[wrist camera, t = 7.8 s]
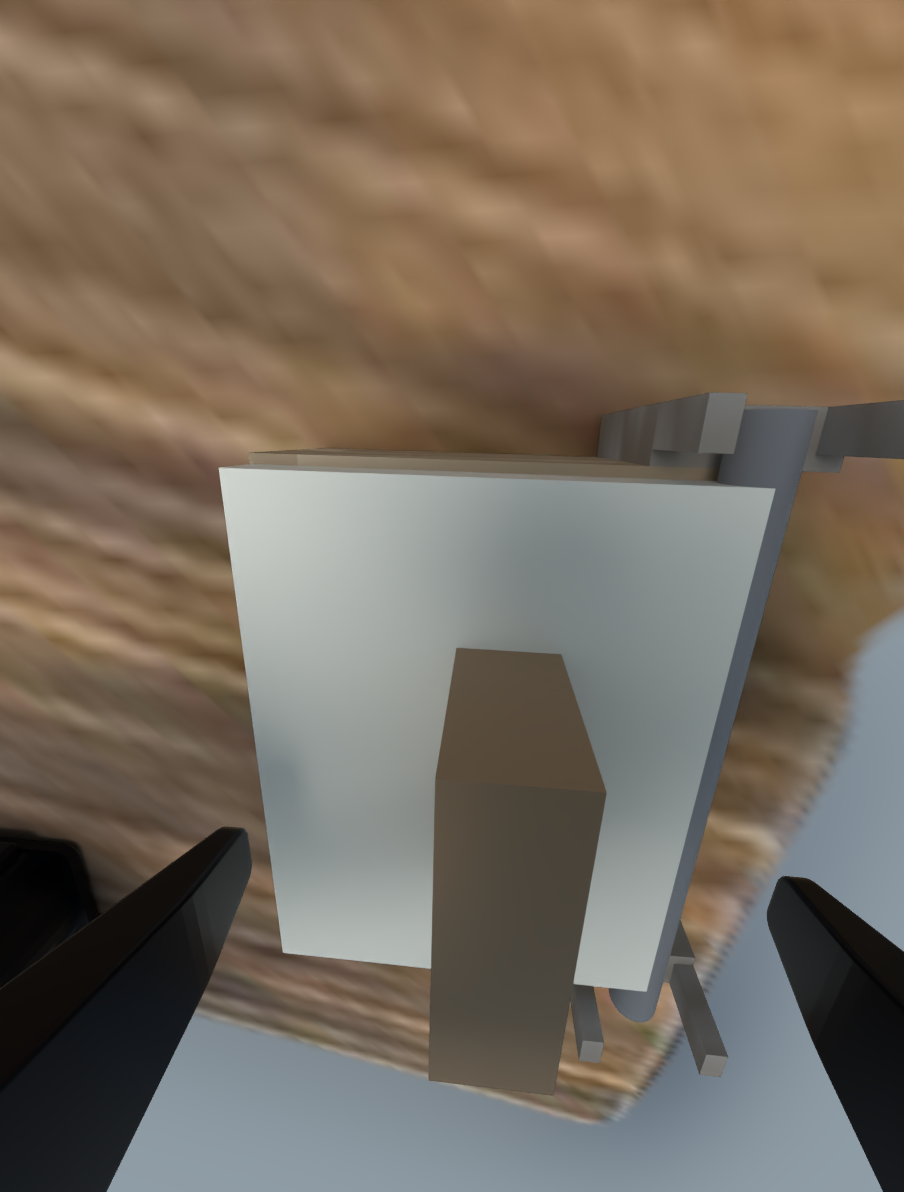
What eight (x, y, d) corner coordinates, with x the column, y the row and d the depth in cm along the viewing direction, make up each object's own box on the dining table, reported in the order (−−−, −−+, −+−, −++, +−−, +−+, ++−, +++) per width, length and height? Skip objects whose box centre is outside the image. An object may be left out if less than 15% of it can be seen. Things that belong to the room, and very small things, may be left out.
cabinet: (322, 407, 13) (172, 380, 7) (731, 418, 12) (971, 398, 6) (347, 824, 18) (273, 1024, 12) (639, 850, 17) (720, 1076, 11)
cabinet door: (245, 399, 9) (-16, 357, 4) (788, 414, 8) (1164, 383, 4) (304, 937, 14) (211, 1185, 9) (646, 973, 13) (730, 1259, 8)
